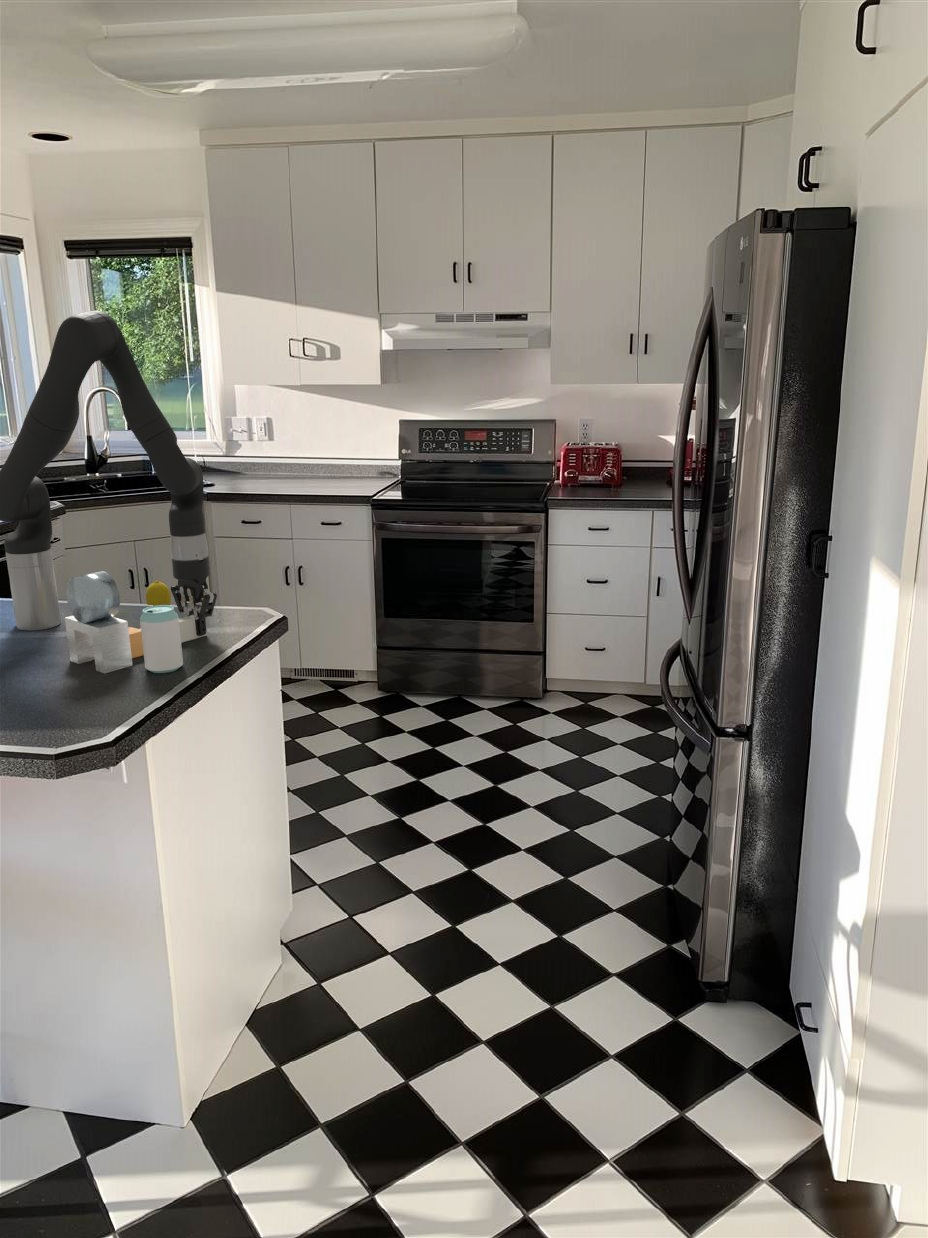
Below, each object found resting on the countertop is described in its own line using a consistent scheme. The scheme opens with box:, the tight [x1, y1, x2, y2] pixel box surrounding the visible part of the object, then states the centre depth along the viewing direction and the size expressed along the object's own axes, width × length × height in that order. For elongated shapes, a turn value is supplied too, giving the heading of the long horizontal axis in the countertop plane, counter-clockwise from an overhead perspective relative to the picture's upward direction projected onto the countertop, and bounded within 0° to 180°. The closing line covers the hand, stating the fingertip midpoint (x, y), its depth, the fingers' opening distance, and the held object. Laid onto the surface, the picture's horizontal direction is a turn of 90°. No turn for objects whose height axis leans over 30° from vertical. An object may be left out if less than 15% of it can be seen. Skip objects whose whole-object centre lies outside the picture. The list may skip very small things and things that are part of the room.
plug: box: [128, 615, 208, 659], centre depth 201 cm, size 4×20×5 cm, turn 141°
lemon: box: [145, 580, 172, 607], centre depth 224 cm, size 6×6×8 cm
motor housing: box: [64, 570, 133, 674], centre depth 188 cm, size 12×6×18 cm, turn 50°
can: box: [139, 605, 184, 674], centre depth 185 cm, size 7×7×12 cm
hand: (197, 633), depth 207 cm, fingers closed on plug, 2 cm apart
